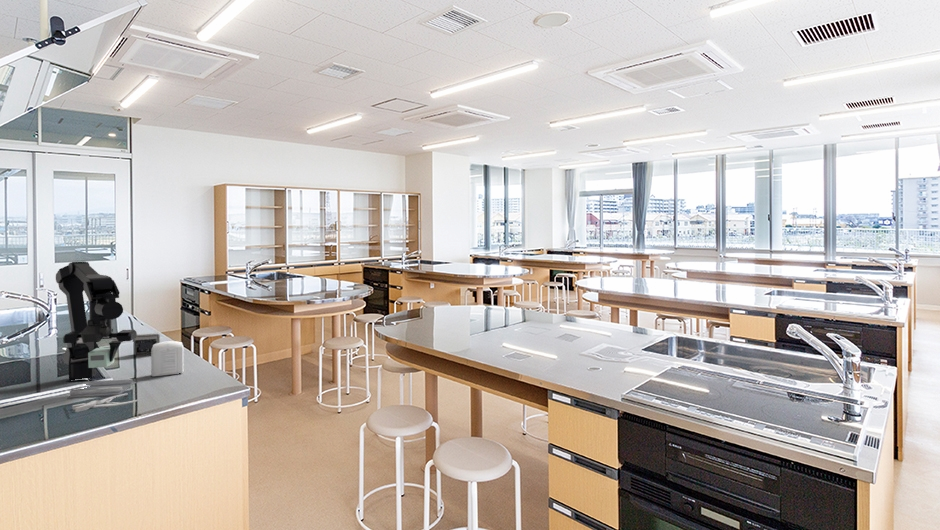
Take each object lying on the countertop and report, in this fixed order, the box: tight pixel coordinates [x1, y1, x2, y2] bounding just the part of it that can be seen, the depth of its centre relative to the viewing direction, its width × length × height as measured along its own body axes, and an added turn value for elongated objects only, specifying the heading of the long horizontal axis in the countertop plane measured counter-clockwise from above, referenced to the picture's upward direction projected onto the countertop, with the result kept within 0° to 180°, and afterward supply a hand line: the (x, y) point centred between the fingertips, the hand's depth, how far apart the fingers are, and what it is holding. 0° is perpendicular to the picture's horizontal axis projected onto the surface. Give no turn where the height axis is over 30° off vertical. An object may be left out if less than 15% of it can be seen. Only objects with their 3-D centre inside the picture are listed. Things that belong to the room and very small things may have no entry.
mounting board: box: [67, 378, 135, 399], centre depth 159 cm, size 14×13×2 cm
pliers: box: [72, 392, 139, 413], centre depth 148 cm, size 10×2×15 cm
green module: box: [88, 347, 115, 369], centre depth 158 cm, size 5×6×5 cm
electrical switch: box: [133, 332, 161, 357], centre depth 202 cm, size 9×5×9 cm, turn 117°
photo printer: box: [150, 340, 185, 377], centre depth 177 cm, size 10×4×12 cm, turn 123°
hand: (101, 361), depth 159 cm, fingers closed on green module, 5 cm apart
